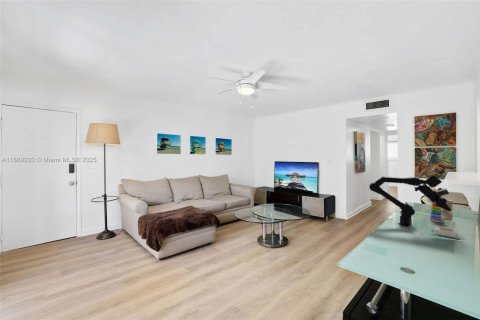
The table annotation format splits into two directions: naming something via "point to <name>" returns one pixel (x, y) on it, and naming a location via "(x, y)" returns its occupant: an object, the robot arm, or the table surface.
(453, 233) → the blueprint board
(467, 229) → the table surface
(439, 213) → the stacking toy
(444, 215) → the maple pillar
